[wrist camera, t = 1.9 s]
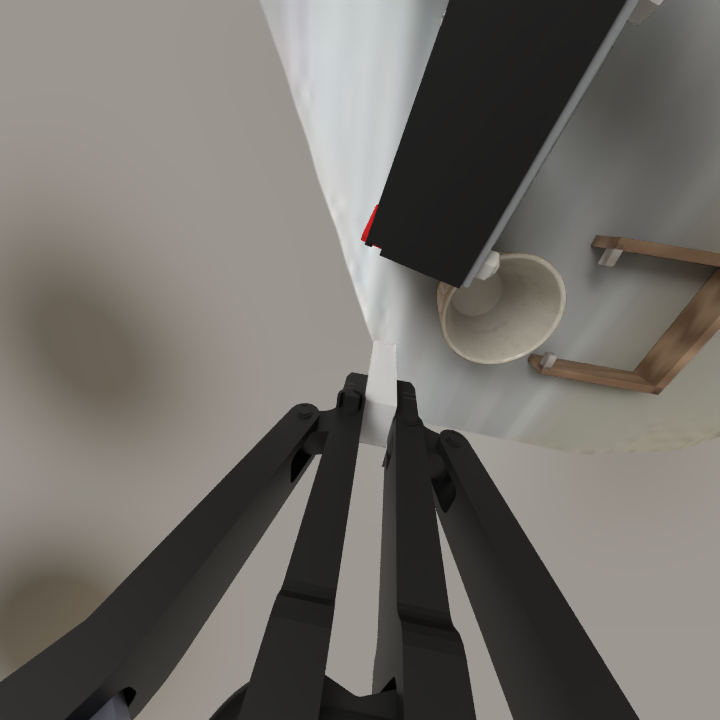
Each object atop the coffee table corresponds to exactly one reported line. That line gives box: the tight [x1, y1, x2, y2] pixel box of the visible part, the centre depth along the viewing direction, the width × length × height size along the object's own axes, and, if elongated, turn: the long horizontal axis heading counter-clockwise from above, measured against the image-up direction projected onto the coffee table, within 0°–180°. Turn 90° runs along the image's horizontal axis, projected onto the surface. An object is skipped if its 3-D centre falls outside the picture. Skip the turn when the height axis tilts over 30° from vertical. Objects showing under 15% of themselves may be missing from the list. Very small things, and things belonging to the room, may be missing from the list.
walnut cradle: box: [528, 235, 720, 395], centre depth 34 cm, size 18×17×4 cm
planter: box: [437, 252, 566, 364], centre depth 32 cm, size 13×13×10 cm
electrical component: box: [361, 0, 665, 289], centre depth 22 cm, size 18×10×20 cm, turn 160°
